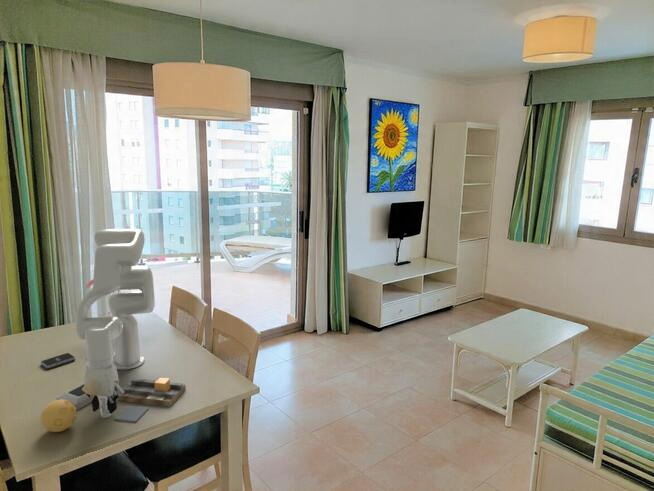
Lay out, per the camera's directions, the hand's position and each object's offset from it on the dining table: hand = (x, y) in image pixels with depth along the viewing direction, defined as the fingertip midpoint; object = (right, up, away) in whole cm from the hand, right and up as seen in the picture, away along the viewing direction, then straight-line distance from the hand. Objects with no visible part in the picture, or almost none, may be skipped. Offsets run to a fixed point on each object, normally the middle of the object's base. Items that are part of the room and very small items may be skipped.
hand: (104, 409), depth 153 cm
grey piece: (+11, +1, +14) cm, 18 cm away
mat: (+9, -2, +1) cm, 9 cm away
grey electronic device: (-13, 0, +11) cm, 17 cm away
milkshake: (0, -2, 0) cm, 2 cm away
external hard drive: (-37, +6, +36) cm, 53 cm away
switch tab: (+15, +2, +13) cm, 20 cm away
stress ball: (-10, -4, -8) cm, 14 cm away
